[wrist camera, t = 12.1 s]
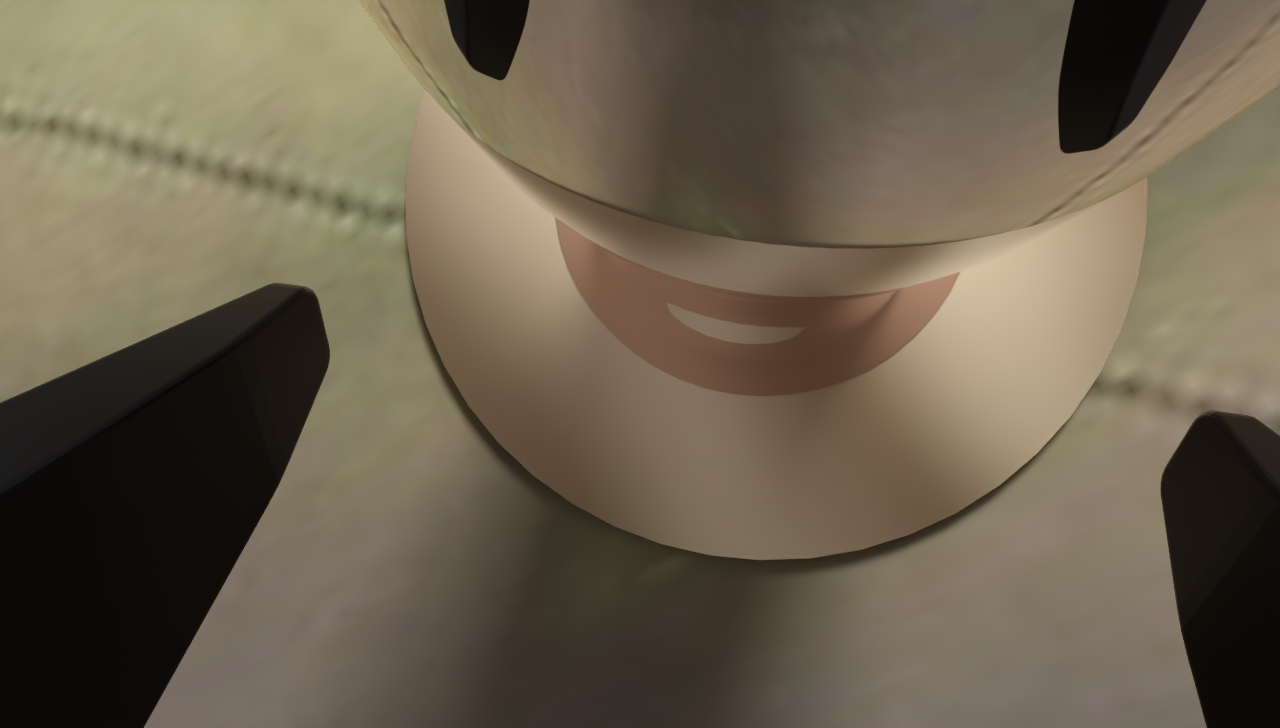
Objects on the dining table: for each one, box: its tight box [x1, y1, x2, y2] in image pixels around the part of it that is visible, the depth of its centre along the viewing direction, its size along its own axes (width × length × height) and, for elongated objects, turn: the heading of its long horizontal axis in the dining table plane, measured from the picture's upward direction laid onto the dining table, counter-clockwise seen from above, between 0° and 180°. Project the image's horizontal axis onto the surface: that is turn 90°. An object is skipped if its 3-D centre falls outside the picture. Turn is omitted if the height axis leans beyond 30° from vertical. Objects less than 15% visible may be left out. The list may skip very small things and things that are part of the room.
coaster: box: [405, 90, 1148, 560], centre depth 17 cm, size 14×14×1 cm
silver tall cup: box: [358, 0, 1280, 362], centre depth 9 cm, size 7×7×15 cm
